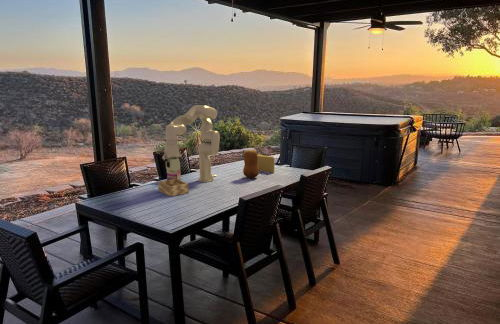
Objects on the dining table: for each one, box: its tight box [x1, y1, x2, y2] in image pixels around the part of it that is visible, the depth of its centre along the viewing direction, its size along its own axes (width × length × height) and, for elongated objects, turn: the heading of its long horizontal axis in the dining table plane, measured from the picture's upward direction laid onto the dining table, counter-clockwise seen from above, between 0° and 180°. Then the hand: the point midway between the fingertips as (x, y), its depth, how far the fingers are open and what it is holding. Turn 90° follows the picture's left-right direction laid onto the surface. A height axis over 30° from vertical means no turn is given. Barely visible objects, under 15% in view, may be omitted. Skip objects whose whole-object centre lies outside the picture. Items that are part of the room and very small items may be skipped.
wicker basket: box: [157, 179, 190, 197], centre depth 261 cm, size 15×19×7 cm
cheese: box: [257, 153, 275, 174], centre depth 332 cm, size 22×10×15 cm, turn 47°
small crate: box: [165, 158, 181, 171], centre depth 257 cm, size 6×10×8 cm, turn 38°
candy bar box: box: [166, 161, 182, 181], centre depth 292 cm, size 11×5×16 cm, turn 62°
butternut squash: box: [242, 149, 260, 180], centre depth 303 cm, size 14×13×25 cm
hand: (172, 166), depth 258 cm, fingers closed on small crate, 6 cm apart
